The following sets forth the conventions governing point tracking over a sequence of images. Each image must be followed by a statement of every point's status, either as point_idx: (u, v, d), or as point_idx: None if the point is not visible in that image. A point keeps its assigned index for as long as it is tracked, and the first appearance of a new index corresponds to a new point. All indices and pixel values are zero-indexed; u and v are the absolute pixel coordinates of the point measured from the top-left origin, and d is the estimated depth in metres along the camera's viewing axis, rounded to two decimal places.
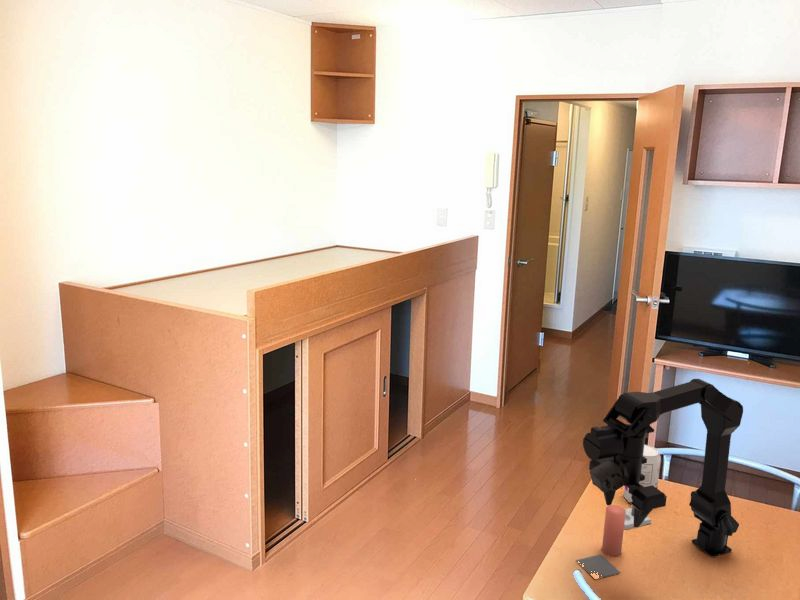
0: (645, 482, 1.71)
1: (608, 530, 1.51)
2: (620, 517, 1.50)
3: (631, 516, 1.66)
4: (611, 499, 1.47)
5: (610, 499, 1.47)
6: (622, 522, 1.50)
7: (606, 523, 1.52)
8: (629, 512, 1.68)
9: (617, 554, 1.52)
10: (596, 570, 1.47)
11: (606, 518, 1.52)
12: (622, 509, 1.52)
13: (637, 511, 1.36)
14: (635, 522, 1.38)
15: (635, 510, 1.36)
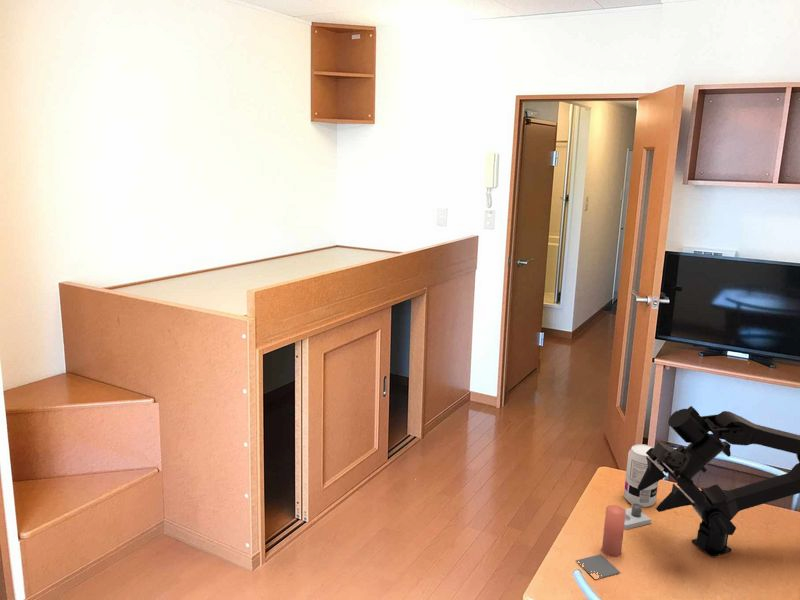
0: None
1: (608, 530, 1.51)
2: (620, 517, 1.50)
3: (631, 516, 1.66)
4: (644, 486, 1.56)
5: (644, 486, 1.56)
6: (622, 522, 1.50)
7: (606, 523, 1.52)
8: (629, 512, 1.68)
9: (617, 554, 1.52)
10: (596, 570, 1.47)
11: (606, 518, 1.52)
12: (622, 509, 1.52)
13: (672, 495, 1.45)
14: (661, 504, 1.47)
15: (670, 494, 1.46)
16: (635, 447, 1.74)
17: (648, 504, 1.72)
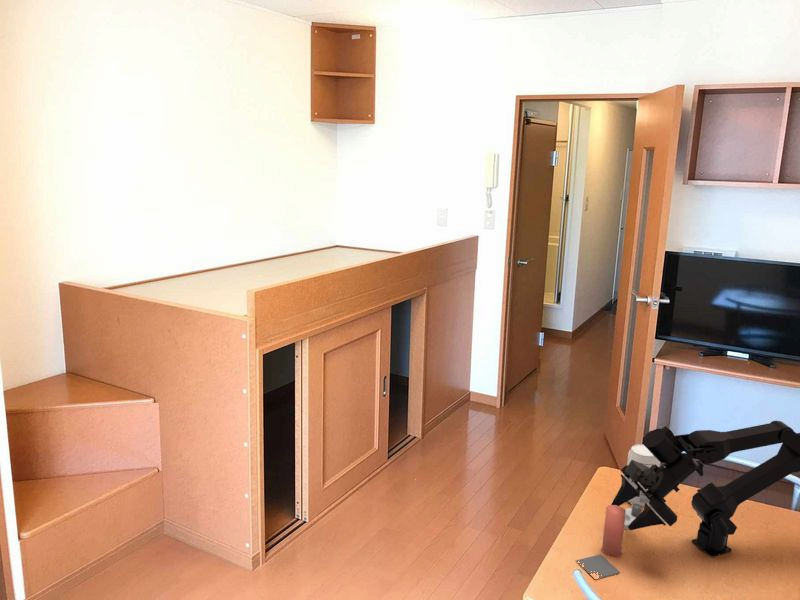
0: None
1: (608, 530, 1.51)
2: (620, 517, 1.50)
3: (631, 516, 1.66)
4: (618, 504, 1.57)
5: (617, 503, 1.56)
6: (622, 522, 1.50)
7: (606, 523, 1.52)
8: (629, 512, 1.68)
9: (617, 554, 1.52)
10: (596, 570, 1.47)
11: (606, 518, 1.52)
12: (622, 509, 1.52)
13: (644, 514, 1.46)
14: (633, 523, 1.47)
15: (642, 513, 1.46)
16: (635, 447, 1.74)
17: (648, 504, 1.72)
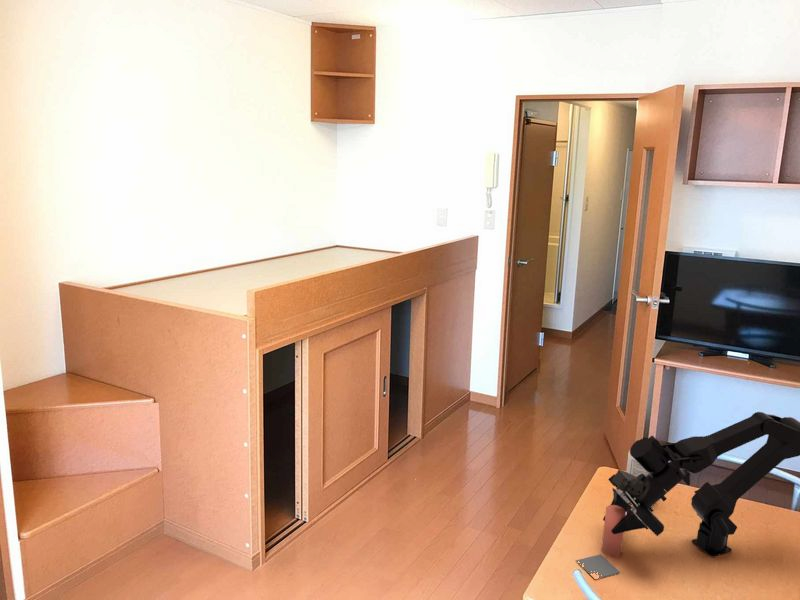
0: None
1: (608, 530, 1.51)
2: (620, 517, 1.50)
3: None
4: None
5: None
6: None
7: (606, 523, 1.52)
8: None
9: (617, 554, 1.52)
10: (596, 570, 1.47)
11: (606, 518, 1.52)
12: (622, 509, 1.52)
13: (626, 518, 1.48)
14: (616, 527, 1.49)
15: (625, 517, 1.49)
16: None
17: None
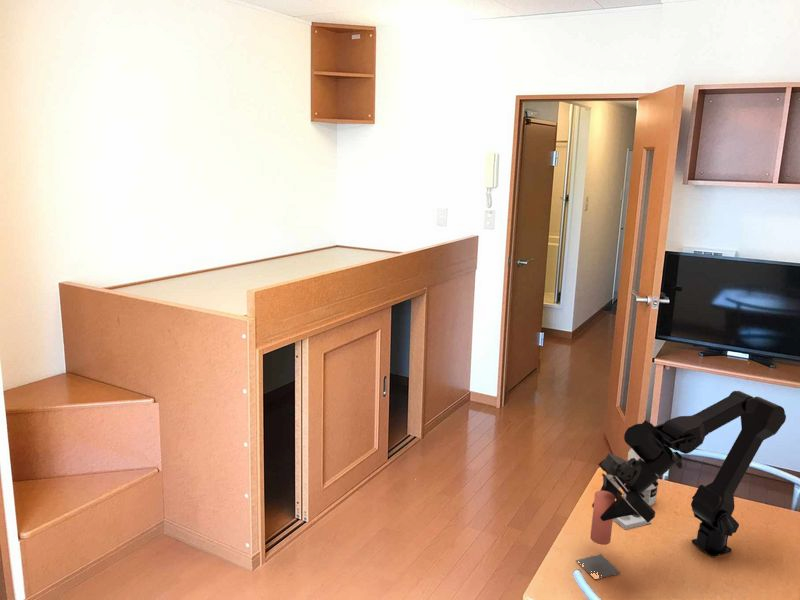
0: None
1: (597, 517, 1.44)
2: (609, 503, 1.42)
3: (631, 516, 1.66)
4: None
5: None
6: None
7: (595, 509, 1.44)
8: None
9: (606, 542, 1.45)
10: (596, 570, 1.47)
11: (595, 504, 1.44)
12: (612, 495, 1.44)
13: (616, 504, 1.41)
14: (605, 513, 1.42)
15: (614, 503, 1.41)
16: None
17: None
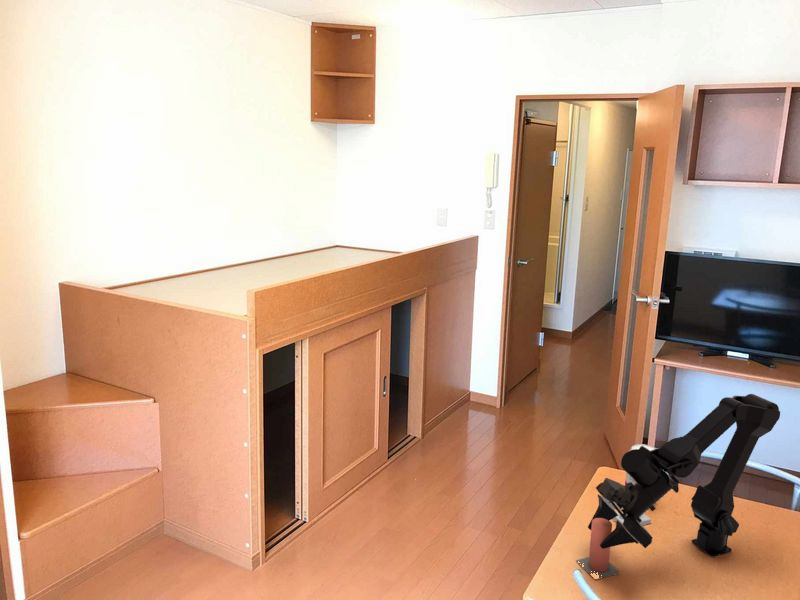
0: None
1: (594, 544, 1.45)
2: (606, 530, 1.44)
3: None
4: None
5: None
6: None
7: (592, 537, 1.46)
8: None
9: (604, 569, 1.46)
10: None
11: (592, 532, 1.46)
12: (609, 522, 1.46)
13: (616, 532, 1.41)
14: (604, 541, 1.42)
15: (614, 531, 1.41)
16: (635, 447, 1.74)
17: None
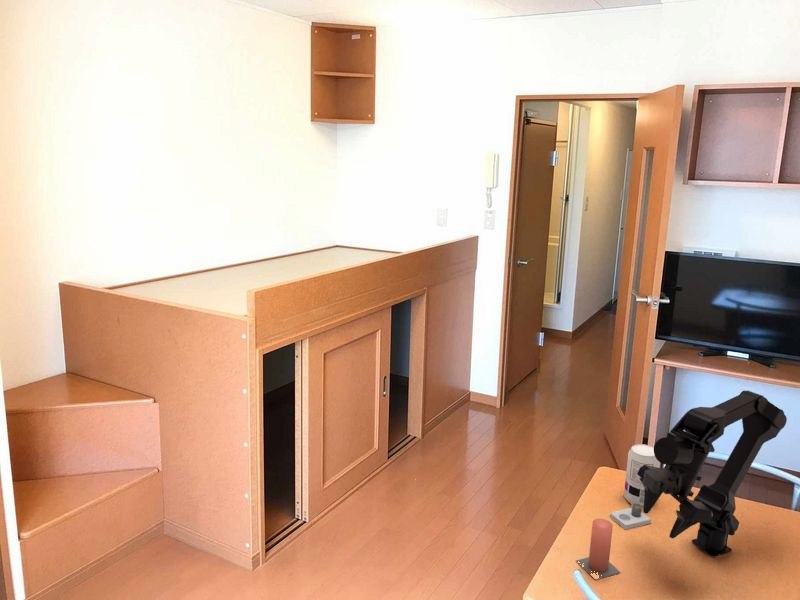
0: None
1: (595, 545, 1.45)
2: (607, 531, 1.44)
3: (631, 516, 1.66)
4: (649, 508, 1.50)
5: (648, 508, 1.50)
6: (609, 537, 1.44)
7: (592, 538, 1.46)
8: (629, 512, 1.68)
9: (604, 570, 1.46)
10: None
11: (592, 532, 1.46)
12: (609, 523, 1.46)
13: (679, 521, 1.40)
14: (672, 532, 1.41)
15: (677, 520, 1.40)
16: (635, 447, 1.74)
17: None
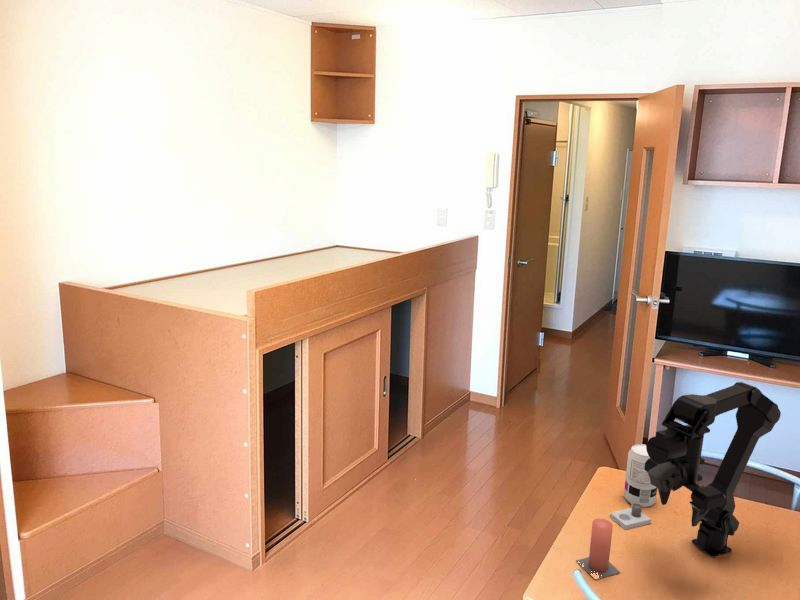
0: (645, 482, 1.71)
1: (595, 545, 1.45)
2: (607, 531, 1.44)
3: (631, 516, 1.66)
4: (666, 499, 1.50)
5: (665, 499, 1.50)
6: (609, 537, 1.44)
7: (592, 538, 1.46)
8: (629, 512, 1.68)
9: (604, 570, 1.46)
10: None
11: (592, 532, 1.46)
12: (609, 523, 1.46)
13: (696, 510, 1.39)
14: (693, 521, 1.41)
15: (694, 509, 1.40)
16: (635, 447, 1.74)
17: (648, 504, 1.72)
